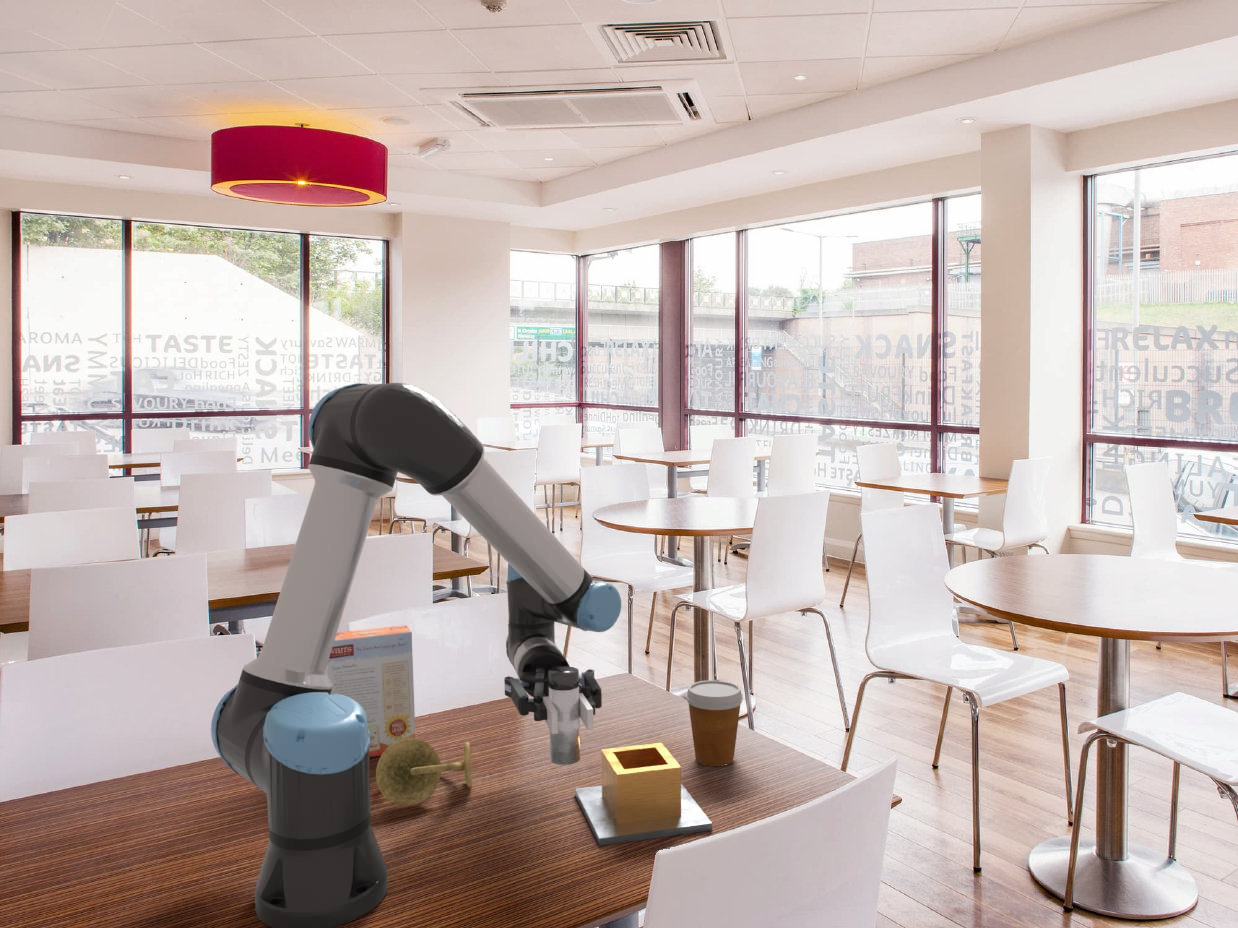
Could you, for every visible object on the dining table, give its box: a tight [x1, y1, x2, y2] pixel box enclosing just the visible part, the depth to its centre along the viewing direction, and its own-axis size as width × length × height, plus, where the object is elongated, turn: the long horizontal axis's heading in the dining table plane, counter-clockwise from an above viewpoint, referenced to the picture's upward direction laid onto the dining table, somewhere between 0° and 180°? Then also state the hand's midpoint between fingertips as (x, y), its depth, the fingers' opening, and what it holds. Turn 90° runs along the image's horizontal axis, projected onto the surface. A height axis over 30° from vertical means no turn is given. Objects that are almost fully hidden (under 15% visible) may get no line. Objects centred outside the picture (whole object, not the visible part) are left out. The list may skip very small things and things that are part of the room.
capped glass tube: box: [549, 666, 581, 766], centre depth 119 cm, size 4×4×12 cm
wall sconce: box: [375, 738, 473, 807], centre depth 132 cm, size 14×10×25 cm
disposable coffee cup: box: [685, 679, 744, 767], centre depth 147 cm, size 10×10×12 cm
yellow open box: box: [574, 742, 713, 846], centre depth 129 cm, size 16×16×8 cm
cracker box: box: [326, 624, 417, 759], centre depth 152 cm, size 14×6×21 cm, turn 111°
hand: (572, 721), depth 114 cm, fingers closed on capped glass tube, 4 cm apart
